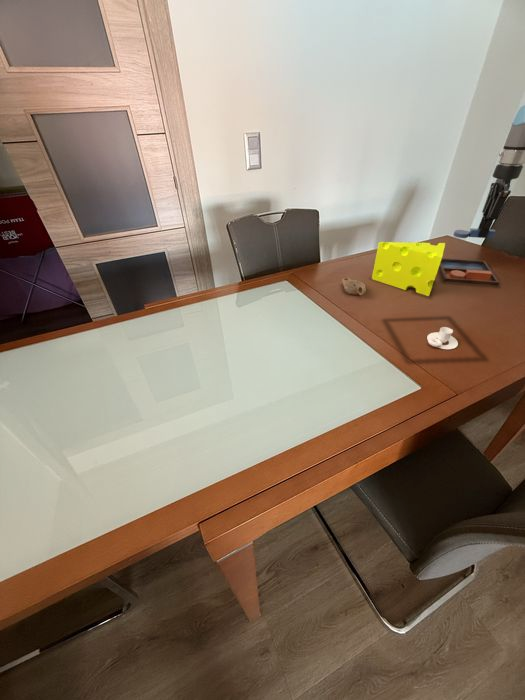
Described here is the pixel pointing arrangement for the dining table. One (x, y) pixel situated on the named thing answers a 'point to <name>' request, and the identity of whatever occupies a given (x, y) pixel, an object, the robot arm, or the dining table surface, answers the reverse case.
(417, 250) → the cheese wedge
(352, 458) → the dining table surface
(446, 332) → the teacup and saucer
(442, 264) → the cutlery tray
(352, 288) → the oil lamp
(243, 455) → the dining table surface
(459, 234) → the blue spoon
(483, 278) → the terracotta spoon
